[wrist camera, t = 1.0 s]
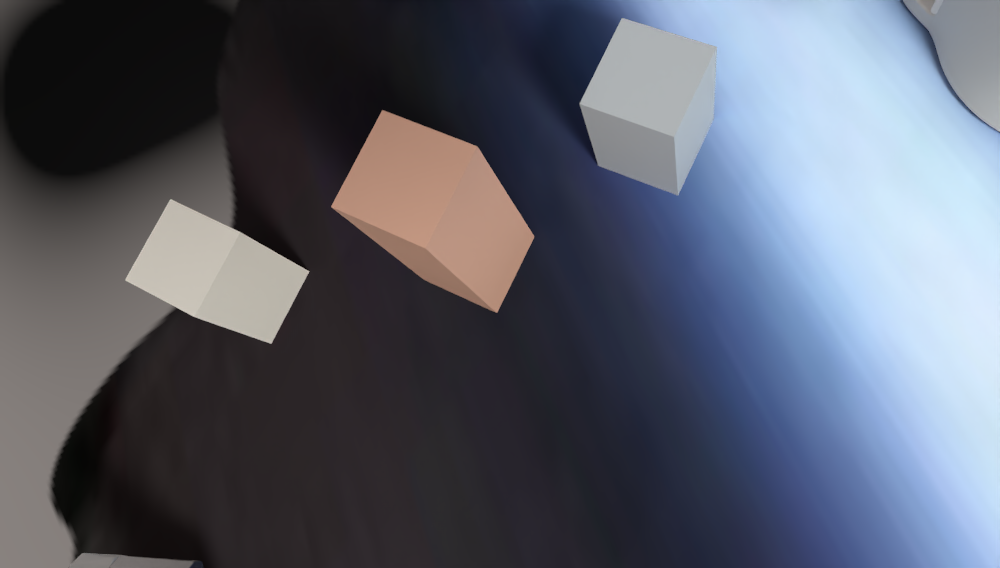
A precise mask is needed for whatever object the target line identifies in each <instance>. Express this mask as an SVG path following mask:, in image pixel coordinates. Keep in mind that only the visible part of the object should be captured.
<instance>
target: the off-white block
mask: <svg viewBox="0 0 1000 568" xmlns="http://www.w3.org/2000/svg"><path fill="white" fill-rule="evenodd" d="M308 273H309V271H308V270H306V269H304V268H302V267H301V266H299V265H297V264H295V263H294V262H292V261H290V260H288V259H287V258H285V257H283V256H281V255H279V254H278V253H276V252H274V251H272V250H271V249H269V248H267V247H265V246H264V245H262V244H260V243H258V242H257V241H255V240H253V239H251V238H250V237H248V236H246V235H244V234H243V233H241V232H239V231H237V230H235V229H233V228H230V227H228V226H226V225H224V224H222V223H220V222H218V221H216V220H214V219H211V218H209V217H207V216H205V215H203V214H201V213H199V212H197V211H195V210H193V209H190V208H188V207H186V206H184V205H182V204H180V203H178V202H176V201H174V200H171V199H170V201H169V202H168V204H167V206H166V208H165V210H164V211H163V213H162V215H161V217H160V218H159V220H158V222H157V224H156V226H155V228H154V229H153V231H152V233H151V235H150V236H149V238H148V240H147V242H146V244H145V246H144V247H143V249H142V251H141V253H140V254H139V256H138V258H137V260H136V262H135V263H134V265H133V267H132V269H131V270H130V272H129V274H128V276H127V278H126V279H125V280H126V281H128V282H130V283H131V284H133V285H135V286H137V287H139V288H141V289H143V290H145V291H147V292H148V293H150V294H152V295H154V296H156V297H158V298H160V299H162V300H164V301H165V302H167V303H169V304H171V305H173V306H175V307H177V308H179V309H180V310H182V311H184V312H186V313H188V314H190V315H192V316H194V317H196V318H199V319H202V320H205V321H207V322H210V323H213V324H216V325H219V326H222V327H225V328H227V329H230V330H233V331H236V332H239V333H242V334H245V335H248V336H250V337H253V338H256V339H259V340H262V341H265V342H268V343H270V344H271V343H272V341H273V339H274V337H275V336H276V334H277V332H278V330H279V328H280V326H281V324H282V322H283V320H284V318H285V317H286V315H287V313H288V311H289V309H290V307H291V305H292V303H293V301H294V299H295V298H296V296H297V294H298V292H299V290H300V288H301V286H302V284H303V282H304V281H305V279H306V277H307V275H308Z"/></svg>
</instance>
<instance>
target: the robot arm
mask: <svg viewBox="0 0 1000 568" xmlns="http://www.w3.org/2000/svg"><path fill="white" fill-rule="evenodd" d="M903 2H904V3H905V5H906V6H907V8H908V9H909V10H910V11H911V12H912V14H913V15H914V16H915V17H916V18H917V19H918V20H919V21H920V22H921V23H922V24H923V25H924V26H925V27H926V28H927V29H928V30H929V32H930V34H931V36H932V38H933V41H934V44H935V47H936V50H937V54H938V57H939V60H940V63H941V66H942V69H943V71H944V73H945V75H946V77H947V79H948V81H949V83H950V84H951V86H952V88H953V89H954V91H955V92H956V94H957V95H958V96H959V98H960V99H961V100H962V101H963V102H964V103H965V105H966V106H967V107H968V108H969V109H970V110H971V111H972V112H973V113H975V114H976V115H977V116H978V117H979V118H980V119H982V120H983V121H984V122H986V123H987V124H988V125H990V126H991V127H993V128H994V129H996V130H997V131H999V132H1000V0H903ZM68 568H204V566H203V564H202V561H193V560H178V559H163V558H148V557H133V556H124V555H108V554H89V553H82V554H81V555H80V556H79V557H78V558H77V559H76V560H75V561H74V562H73V563H72V564H71V565H70V566H69V567H68Z"/></svg>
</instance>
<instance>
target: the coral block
mask: <svg viewBox="0 0 1000 568" xmlns="http://www.w3.org/2000/svg"><path fill="white" fill-rule="evenodd" d="M331 207H332V208H333V209H334V210H336V211H337V212H338V213H340V214H341V215H342V216H343V217H345V218H346V219H347V220H348V221H350V222H351V223H352V224H354V225H355V226H356V227H357V228H359V229H360V230H361V231H363V232H364V233H365V234H366V235H368V236H369V237H370V238H371V239H373V240H374V241H375V242H377V243H378V244H379V245H380V246H382V247H383V248H384V249H386V250H387V251H388V252H389V253H391V254H392V255H393V256H394V257H396V258H397V259H398V260H400V261H401V262H402V263H403V264H405V265H406V266H407V267H408V268H410V269H411V270H412V271H414V272H415V273H416V274H417V275H419V276H420V277H421V278H423V279H424V280H426V281H428V282H430V283H432V284H434V285H437V286H439V287H441V288H443V289H445V290H447V291H450V292H452V293H454V294H456V295H458V296H461V297H463V298H465V299H467V300H469V301H472V302H474V303H476V304H478V305H480V306H483V307H485V308H487V309H489V310H491V311H494V312H496V313H497V312H498V310H499V308H500V306H501V304H502V302H503V300H504V298H505V296H506V294H507V292H508V290H509V287H510V285H511V283H512V281H513V279H514V277H515V275H516V273H517V271H518V269H519V267H520V265H521V263H522V261H523V259H524V257H525V255H526V253H527V251H528V249H529V247H530V245H531V243H532V241H533V239H534V235H533V234H532V232H531V230H530V229H529V227H528V226H527V224H526V223H525V221H524V219H523V218H522V216H521V215H520V213H519V212H518V210H517V208H516V207H515V205H514V204H513V202H512V200H511V199H510V197H509V196H508V194H507V193H506V191H505V189H504V188H503V186H502V185H501V183H500V181H499V180H498V178H497V177H496V175H495V174H494V172H493V170H492V169H491V167H490V166H489V164H488V163H487V161H486V159H485V158H484V156H483V155H482V153H481V151H480V150H479V148H478V147H477V146H475V145H472V144H470V143H467V142H464V141H462V140H459V139H457V138H454V137H451V136H449V135H446V134H444V133H441V132H438V131H436V130H433V129H431V128H428V127H425V126H423V125H420V124H418V123H415V122H412V121H410V120H407V119H405V118H402V117H399V116H397V115H394V114H392V113H389V112H386V111H384V110H382V112H381V114H380V116H379V117H378V119H377V121H376V123H375V125H374V127H373V129H372V131H371V133H370V134H369V136H368V138H367V140H366V142H365V144H364V146H363V148H362V150H361V151H360V153H359V155H358V157H357V159H356V161H355V163H354V165H353V167H352V168H351V170H350V172H349V174H348V176H347V178H346V180H345V182H344V184H343V185H342V187H341V189H340V191H339V193H338V195H337V197H336V199H335V201H334V202H333V204H332V206H331Z"/></svg>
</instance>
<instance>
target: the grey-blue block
mask: <svg viewBox="0 0 1000 568" xmlns="http://www.w3.org/2000/svg"><path fill="white" fill-rule="evenodd" d="M716 55H717V47H715V46H712V45H709V44H705V43H702V42H699V41H696V40H692V39H689V38H686V37H682V36H679V35H676V34H673V33H669V32H666V31H663V30H660V29H656V28H653V27H650V26H647V25H643V24H640V23H637V22H634V21H630V20H627V19H624V18H622V19H621V21H620V23H619V25H618V27H617V29H616V31H615V33H614V35H613V37H612V39H611V41H610V43H609V45H608V47H607V49H606V51H605V53H604V55H603V57H602V59H601V61H600V63H599V65H598V67H597V69H596V71H595V74H594V76H593V78H592V80H591V82H590V84H589V86H588V88H587V90H586V92H585V94H584V96H583V98H582V100H581V102H580V107H581V110H582V114H583V117H584V120H585V124H586V127H587V130H588V134H589V137H590V140H591V143H592V147H593V150H594V153H595V157H596V160H597V163H598V166H600V167H603V168H606V169H608V170H611V171H614V172H617V173H619V174H622V175H625V176H627V177H630V178H633V179H635V180H638V181H641V182H643V183H646V184H649V185H651V186H654V187H657V188H659V189H662V190H665V191H667V192H670V193H673V194H676V195H678V194H679V192H680V190H681V188H682V186H683V184H684V182H685V179H686V177H687V175H688V173H689V171H690V169H691V167H692V165H693V162H694V160H695V158H696V156H697V154H698V152H699V150H700V147H701V145H702V143H703V141H704V139H705V137H706V135H707V133H708V130H709V128H710V126H711V124H712V122H713V120H714V101H715V78H716Z"/></svg>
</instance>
